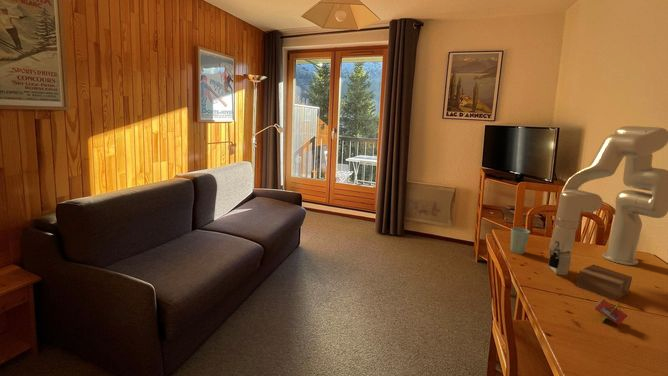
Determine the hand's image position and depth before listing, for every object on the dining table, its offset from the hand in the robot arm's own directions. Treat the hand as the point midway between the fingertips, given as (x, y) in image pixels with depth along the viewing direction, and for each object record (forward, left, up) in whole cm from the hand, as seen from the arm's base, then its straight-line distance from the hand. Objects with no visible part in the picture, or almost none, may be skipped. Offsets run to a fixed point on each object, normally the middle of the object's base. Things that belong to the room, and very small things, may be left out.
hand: (558, 264), depth 141 cm
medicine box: (0, 0, -3) cm, 3 cm away
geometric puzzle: (+26, +26, -3) cm, 37 cm away
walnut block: (+2, +16, -3) cm, 16 cm away
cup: (-6, -20, -3) cm, 21 cm away
